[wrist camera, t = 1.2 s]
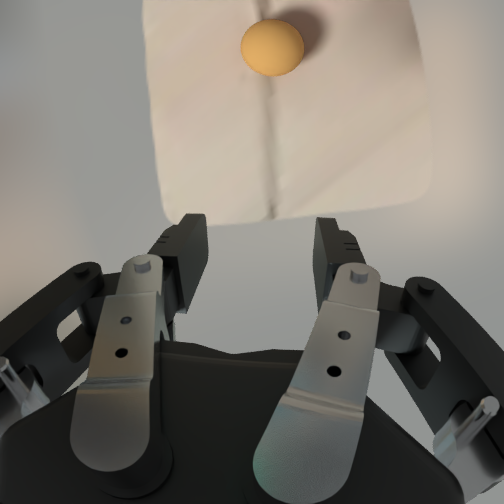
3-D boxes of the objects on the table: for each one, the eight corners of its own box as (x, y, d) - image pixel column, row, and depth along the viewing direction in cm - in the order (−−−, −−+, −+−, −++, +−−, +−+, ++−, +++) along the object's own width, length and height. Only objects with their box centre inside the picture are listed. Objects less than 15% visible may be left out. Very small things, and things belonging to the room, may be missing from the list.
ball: (244, 26, 22) (236, 13, 18) (302, 26, 22) (305, 14, 17) (244, 77, 25) (236, 74, 20) (302, 78, 24) (306, 75, 20)
